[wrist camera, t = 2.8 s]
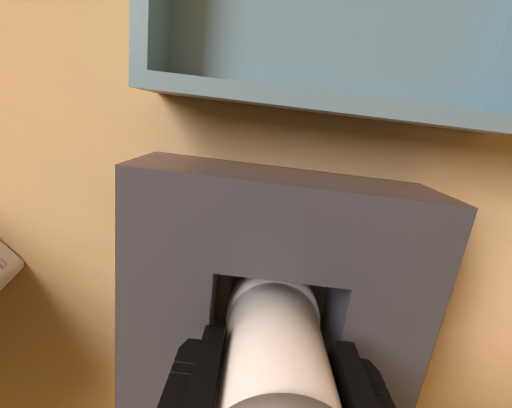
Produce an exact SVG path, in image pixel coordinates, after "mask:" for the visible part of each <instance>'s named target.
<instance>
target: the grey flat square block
mask: <svg viewBox="0 0 512 408" xmlns="http://www.w3.org/2000/svg"><path fill="white" fill-rule="evenodd" d="M477 210H478V208H476V207H474V206H471V205H469V204H467V203H464V202H462V201H459V200H457V199H455V198H452V197H450V196H448V195H445V194H443V193H441V192H438V191H436V190H434V189H431V188H429V187H427V186H424V185H422V184H418V183H409V182H401V181H393V180H385V179H376V178H368V177H360V176H352V175H343V174H335V173H327V172H319V171H310V170H302V169H294V168H286V167H277V166H269V165H261V164H253V163H244V162H236V161H228V160H220V159H211V158H203V157H195V156H187V155H178V154H170V153H162V152H153V153H150V154H147V155H144V156H141V157H138V158H135V159H131V160H128V161H125V162H122V163H119V164H116V165H115V408H157V406H158V403H159V400H160V397H161V395H162V392H163V389H164V387H165V384H166V381H167V378H168V376H169V373H170V370H171V367H172V365H173V363H174V359H175V357H176V354H177V351H178V348H179V347H180V346H181V345H182V344H183V343H184V342H185V341H186V340H187V339H188V338H193V339H201V340H202V336H203V332H204V329H205V326H206V325H214V326H223V327H226V332H225V341H224V349H225V343H226V337H227V331H228V330H227V326H226V314H227V308H228V303H229V297H230V291H231V287H232V284H233V282H234V280H235V278H236V277H246V278H254V279H263V280H271V281H280V282H288V283H297V284H305V285H311V286H312V289H313V292H314V295H315V299H316V302H317V305H318V309H319V313H320V330H321V333H322V337H323V340H324V344H325V348H326V351H327V355H328V350H329V345H330V342H331V340H341V341H350V342H354V344H355V346H356V348H357V351H358V353H359V356H360V358H363V359H369V360H370V361H371V362H372V364H373V365H374V366H375V367H376V368H377V369H378V370H379V371H380V373H381V375H382V378H383V380H384V382H385V384H386V388H387V389H388V391H389V393H390V395H391V399H392V400H393V402H394V404H395V406H396V408H415V405H416V402H417V399H418V396H419V393H420V390H421V387H422V383H423V380H424V377H425V374H426V371H427V368H428V365H429V361H430V358H431V355H432V352H433V349H434V346H435V343H436V339H437V336H438V333H439V330H440V327H441V324H442V320H443V317H444V314H445V311H446V308H447V305H448V302H449V298H450V295H451V292H452V289H453V286H454V283H455V280H456V276H457V273H458V270H459V267H460V264H461V261H462V258H463V254H464V251H465V248H466V245H467V242H468V239H469V236H470V232H471V229H472V226H473V223H474V220H475V217H476V213H477ZM223 356H224V350H223ZM222 362H223V360H222Z"/></svg>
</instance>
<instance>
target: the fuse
mask: <svg viewBox="0 0 512 408" xmlns="http://www.w3.org/2000/svg"><path fill="white" fill-rule="evenodd" d="M226 326H227V330H228V331H227V337H226V343H225V349H224V356H223V362H222V368H221V375H220V381H219V387H218V394H217V400H216V406H215V408H342V405H341V402H340V398H339V395H338V391H337V387H336V384H335V380H334V377H333V373H332V369H331V366H330V362H329V358H328V355H327V351H326V348H325V344H324V340H323V337H322V333H321V330H320V313H319V309H318V305H317V302H316V299H315V295H314V292H313V289H312V286H311V285H305V284H297V283H288V282H280V281H271V280H263V279H254V278H246V277H236V278H235V280H234V282H233V284H232V287H231V291H230V297H229V303H228V308H227V314H226Z"/></svg>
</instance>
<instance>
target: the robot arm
mask: <svg viewBox="0 0 512 408" xmlns="http://www.w3.org/2000/svg"><path fill="white" fill-rule="evenodd" d="M225 332H226V327H223V326H214V325H206V326H205V329H204V332H203V336H202V340H201V339H193V338H188V339H187V340H186V341H185V342H184V343H183V344H182V345H181V346H180V347H179V348H178V351H177V354H176V357H175V359H174V363H173V365H172V367H171V370H170V373H169V376H168V378H167V381H166V384H165V387H164V389H163V392H162V395H161V397H160V400H159V403H158V406H157V408H215V406H216V400H217V394H218V387H219V381H220V375H221V368H222V360H223V350H224V341H225ZM328 358H329V362H330V366H331V369H332V373H333V377H334V380H335V384H336V387H337V391H338V395H339V398H340V402H341V405H342V408H396V406H395V404H394V402H393V400H392V399H391V395H390V393H389V391H388V389H387V388H386V384H385V382H384V380H383V378H382V375H381V373H380V371H379V370H378V369H377V368H376V367H375V366H374V365H373V364H372V362H371V361H370V360H369V359H363V358H360V356H359V353H358V351H357V348H356V346H355V344H354V342H350V341H341V340H331V342H330V345H329V350H328Z"/></svg>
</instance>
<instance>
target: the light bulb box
mask: <svg viewBox="0 0 512 408" xmlns="http://www.w3.org/2000/svg"><path fill="white" fill-rule="evenodd" d="M24 265H25V264H24V261H23V260H22V259H21V258H20V257H19V256H18V255H17V254H15V253H14V252H13V251H12V250H11V249H10V248H8V247H7V246H6V245H5V244H4V243H3V242H2V241H1V240H0V291H1V290H2V289H3V288H4V287H5V286H6V285H7V284H8V283H9V282H10V281H11V280H12V279H13V278H14V277H15V276H16V275H17V274H18V272H19V271H20V270H21V269H22V268H23V267H24Z"/></svg>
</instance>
